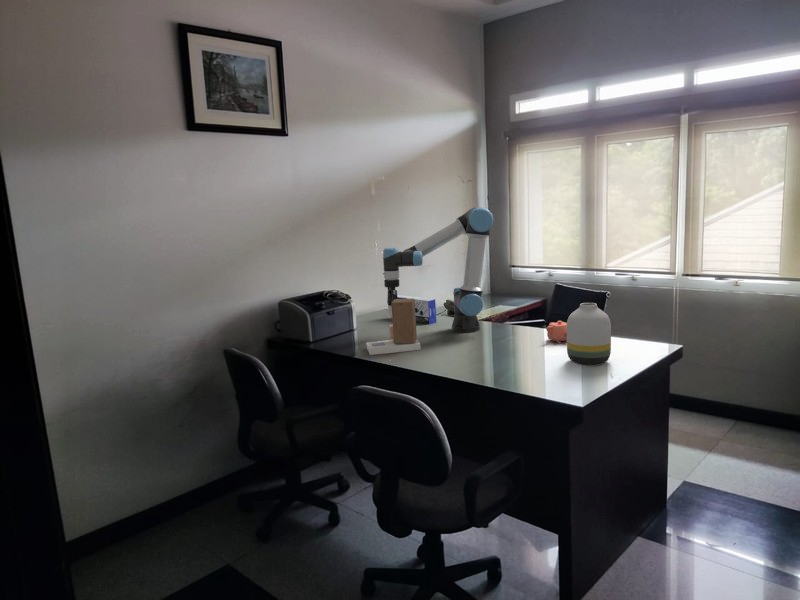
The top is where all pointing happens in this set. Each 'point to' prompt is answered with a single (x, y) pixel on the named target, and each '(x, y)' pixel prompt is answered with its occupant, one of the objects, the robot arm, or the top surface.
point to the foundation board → (390, 347)
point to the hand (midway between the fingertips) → (393, 320)
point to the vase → (588, 335)
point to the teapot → (557, 331)
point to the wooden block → (404, 321)
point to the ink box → (423, 309)
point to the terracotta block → (391, 331)
